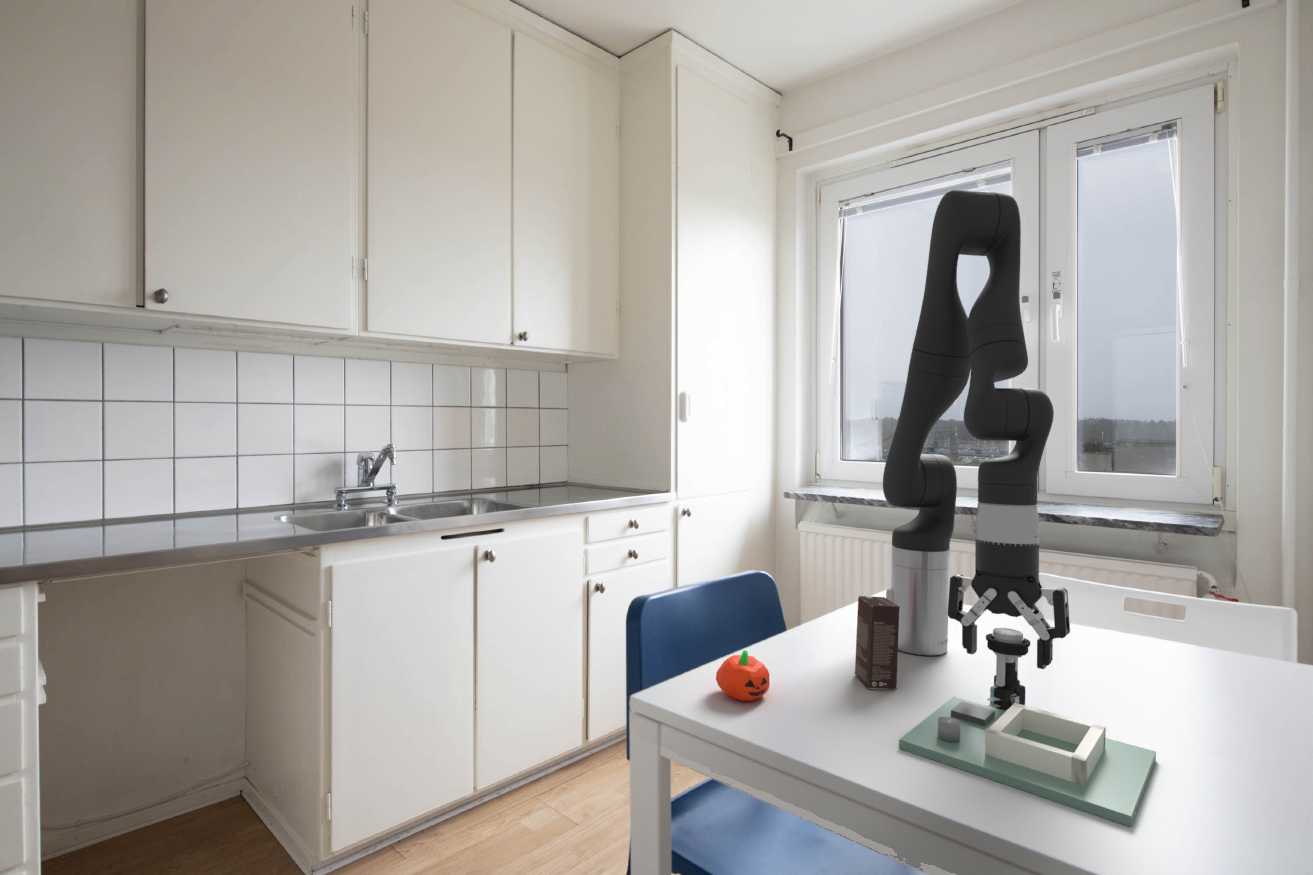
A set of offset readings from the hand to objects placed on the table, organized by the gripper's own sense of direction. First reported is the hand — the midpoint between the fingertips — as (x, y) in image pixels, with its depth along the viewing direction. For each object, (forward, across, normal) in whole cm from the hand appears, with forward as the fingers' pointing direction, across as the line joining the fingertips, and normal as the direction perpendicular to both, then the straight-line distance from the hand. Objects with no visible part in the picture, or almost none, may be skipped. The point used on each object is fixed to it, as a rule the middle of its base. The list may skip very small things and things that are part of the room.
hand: (1005, 659), depth 88 cm
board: (+7, +5, -12) cm, 15 cm away
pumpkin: (+7, -28, -20) cm, 35 cm away
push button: (+7, -1, +1) cm, 7 cm away
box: (+7, -17, -3) cm, 18 cm away
